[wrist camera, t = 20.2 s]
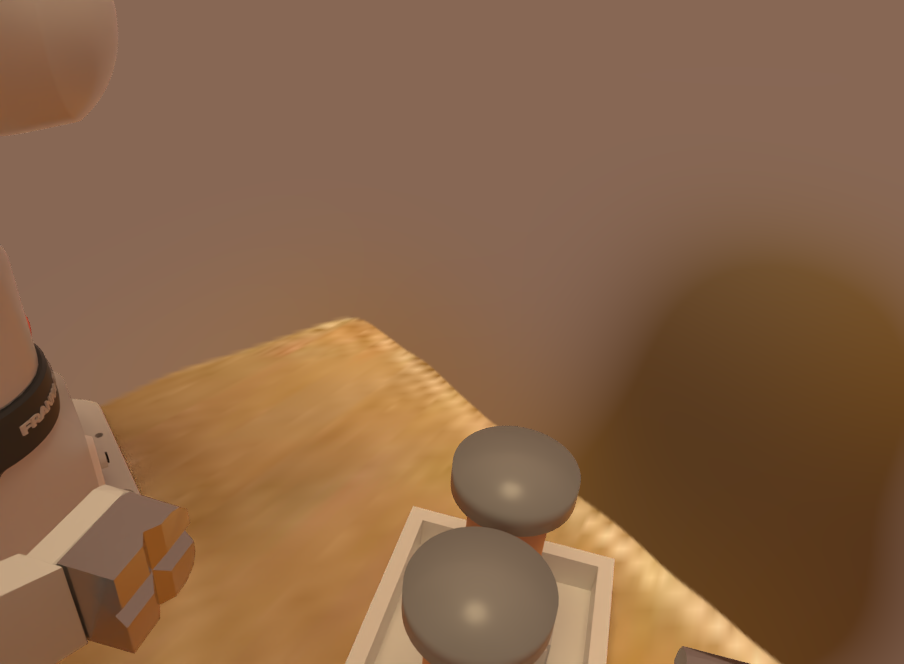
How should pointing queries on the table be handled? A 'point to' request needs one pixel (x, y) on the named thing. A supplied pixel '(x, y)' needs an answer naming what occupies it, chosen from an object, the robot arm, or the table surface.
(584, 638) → the housing
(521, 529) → the grey capped peg
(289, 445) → the table surface
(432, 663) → the brown pin with head
